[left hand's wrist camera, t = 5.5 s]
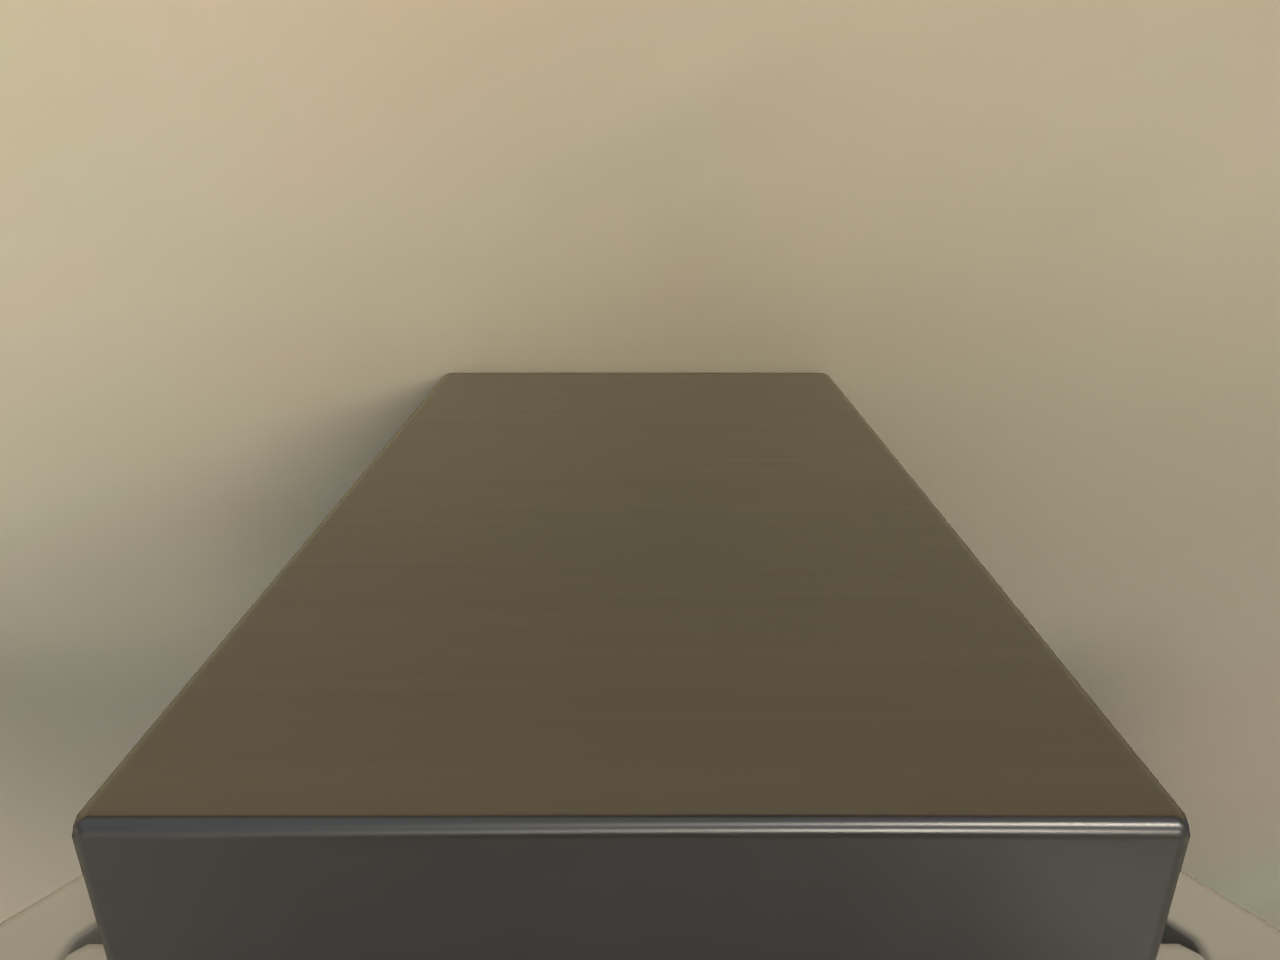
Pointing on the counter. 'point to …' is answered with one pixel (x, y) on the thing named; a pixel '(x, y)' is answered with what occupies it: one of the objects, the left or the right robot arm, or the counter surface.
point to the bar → (632, 713)
